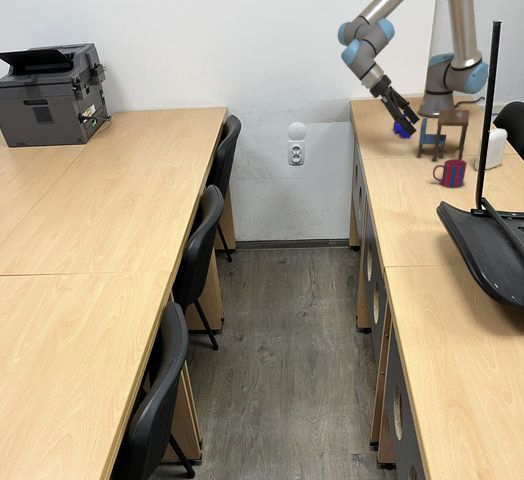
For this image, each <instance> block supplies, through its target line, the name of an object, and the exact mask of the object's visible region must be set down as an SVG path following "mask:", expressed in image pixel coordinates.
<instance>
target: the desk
mask: <svg viewBox="0 0 524 480" xmlns="http://www.w3.org/2000/svg"><path fill="white" fill-rule="evenodd" d="M469 123H470V109H469V110H468V109H455V110H440V113H439V117H438V118H437V125H436V126H437V130H436V134H437V136H436V143H435V145H434V151H433V157H432V162H437V161H438V153H439V147H440V145H439V140H440V134H442V127H461V131H460V139H459V144H458V155H457V159H458V160H462V159H463V154H464V148H465V142H466V137H467V132H468V131H467V130H468V127H469Z"/></svg>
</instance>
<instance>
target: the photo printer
mask: <svg viewBox="0 0 524 480" xmlns="http://www.w3.org/2000/svg"><path fill="white" fill-rule="evenodd" d="M489 131H490V137H489V144H488V152H487V162H486V170H485V171H487V170H489V169H493V168H495V167H498V166H500V165H501V164H502V160H503V156H504V151H505V147H506V143H507V138H508V132H507V131H506V129H504V128H494V129H491V130H489ZM481 140H482V136H481V137H480V139H479V144H478V148H477V154H476V159H475V164H474V169H475V170H477V171H479V170H478V165H479V157H480V149H481Z"/></svg>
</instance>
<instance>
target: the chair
mask: <svg viewBox="0 0 524 480" xmlns="http://www.w3.org/2000/svg"><path fill="white" fill-rule="evenodd" d="M427 125H428V117H427V118H426V117H423V118H422V120H421V124H420V133H419V141H418V150H417V151H418V152H417V158H421V156H422V151H423V147H424V145H434V146H435V143H436V136H437V133H426V132H427V127H428V126H427ZM446 141H447V133H446V134H445V133H443V134H442V133H441V134H440V140H439V146H441V148H440V152H439V153H440V154H439V159H444V151H445V146H446Z"/></svg>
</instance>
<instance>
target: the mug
mask: <svg viewBox="0 0 524 480" xmlns="http://www.w3.org/2000/svg"><path fill="white" fill-rule="evenodd" d="M438 168H442V175H441V178H438V177H436V174H435V173H436V170H437V169H438ZM466 169H467V162H466V161H465V160H458V158H457V159H456V158H453V159H447V160H445V161H444V164H443V165H442V164H438V165H437V164H436V165H435V166H434V168H433V170H432V177H433V178H434V179H435V180H436V181H437V182H441V185H442V186H444V187H446V188H460V187H462V186H463V185H464V182H465V181H464V179H465V174H466Z"/></svg>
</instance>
